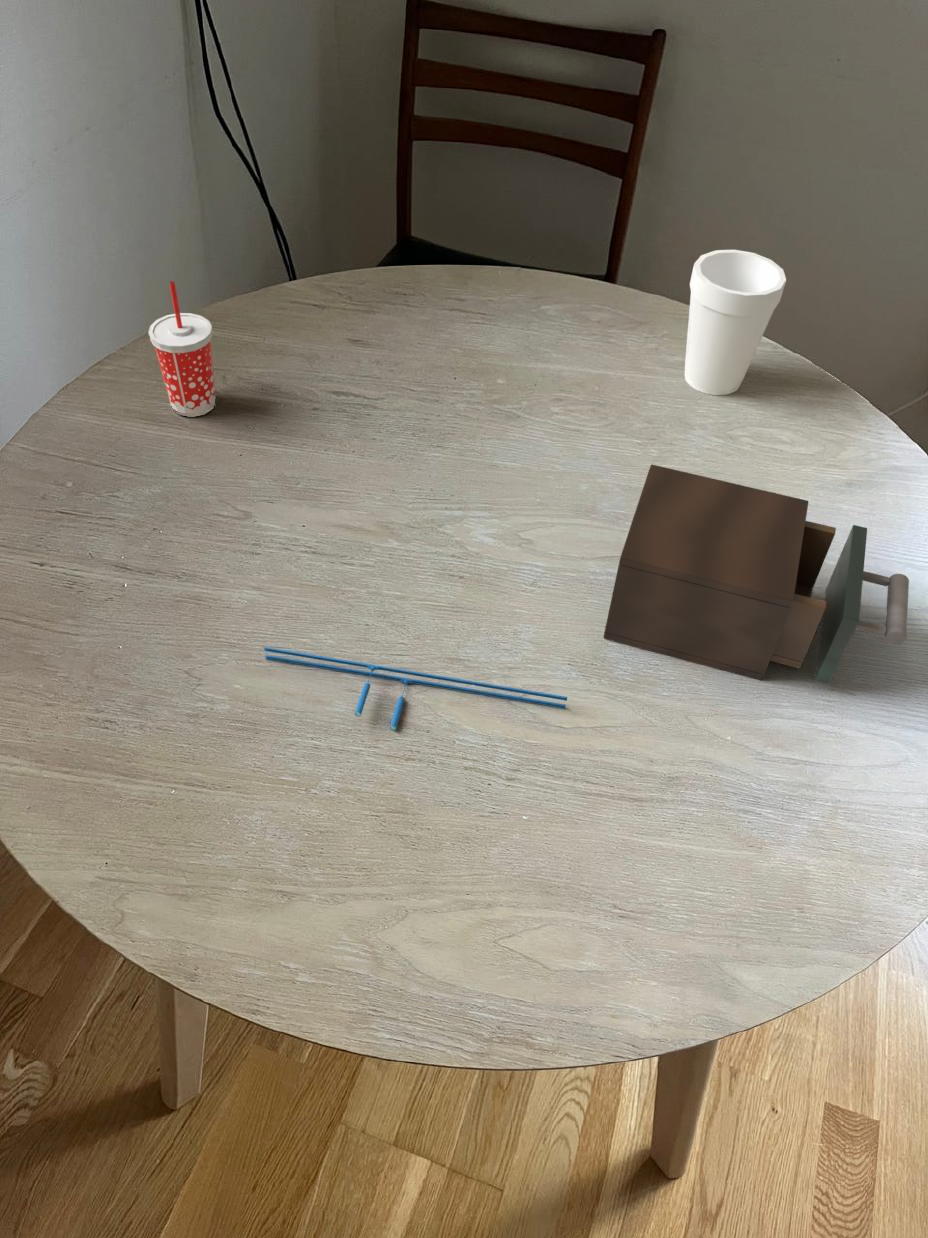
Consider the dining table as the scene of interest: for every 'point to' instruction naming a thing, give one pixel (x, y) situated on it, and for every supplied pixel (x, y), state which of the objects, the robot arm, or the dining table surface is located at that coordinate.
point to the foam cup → (728, 316)
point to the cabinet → (707, 571)
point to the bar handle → (407, 680)
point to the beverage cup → (185, 358)
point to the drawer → (836, 603)
